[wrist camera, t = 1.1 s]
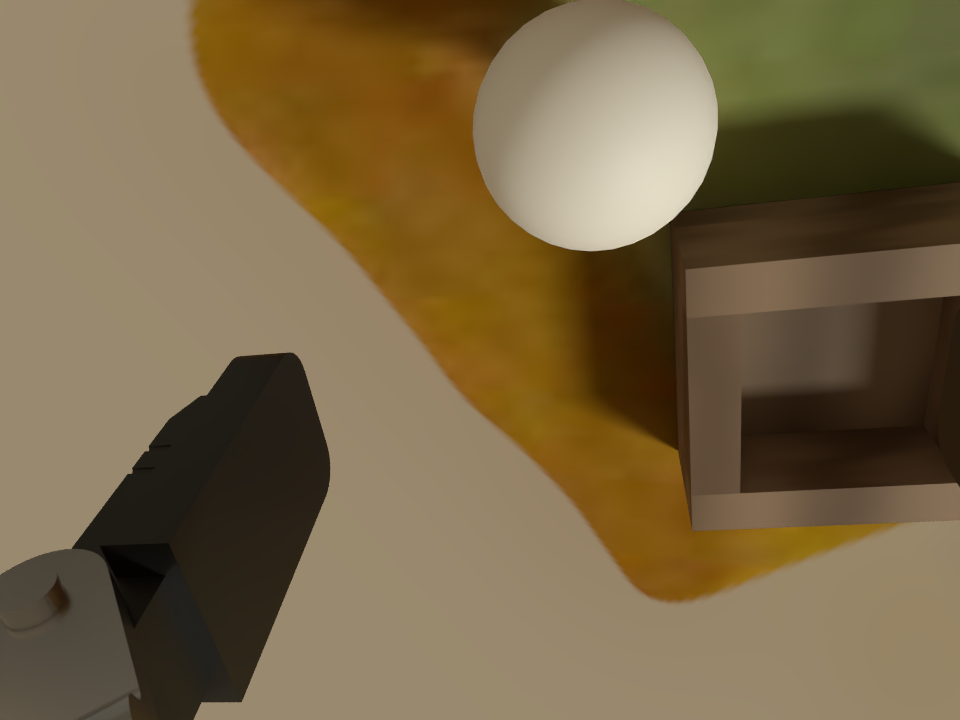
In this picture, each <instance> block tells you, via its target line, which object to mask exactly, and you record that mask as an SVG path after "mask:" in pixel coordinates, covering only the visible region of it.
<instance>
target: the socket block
mask: <svg viewBox="0 0 960 720" xmlns="http://www.w3.org/2000/svg"><path fill="white" fill-rule="evenodd" d="M670 231H671V259H672V287H673V315H674V344H675V372H676V400H677V429H678V452H679V458H680V464H681V469H682V475H683V481H684V487H685V492H686V498H687V504H688V509H689V515H690V521H691V526H692V531H704V530H729V529H753V528H778V527H802V526H827V525H852V524H876V523H901V522H925V521H949V520H960V487H959V485H958V484H957V482H956V481H955V479H954V477H953V476H952V474H951V473H950V471H949V469H948V467H947V466H946V463H945V461H944V458H943V455H942V452H941V448H940V443H939V437H938V413H939V407H940V401H941V395H942V389H943V384H944V378H945V372H946V366H947V360H948V354H949V348H950V342H951V336H952V331H953V325H954V320H955V317H956V314H957V312H958V310H959V308H960V182H957V183H947V184H938V185H928V186H919V187H909V188H900V189H890V190H881V191H871V192H862V193H852V194H843V195H834V196H824V197H815V198H805V199H796V200H786V201H777V202H767V203H758V204H748V205H739V206H729V207H720V208H710V209H701V210H691V211H682V212H679V213H678V214H677V216H676V217H675V218H674V219H672V220H671V221H670Z"/></svg>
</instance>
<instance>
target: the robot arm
mask: <svg viewBox="0 0 960 720" xmlns="http://www.w3.org/2000/svg"><path fill="white" fill-rule="evenodd" d="M938 437H939V443H940V448H941V452H942V455H943V458H944V461H945V463H946V466H947V467H948V469H949V471H950V473H951V474H952V476H953V477H954V479H955V481H956V482H957V484H958V485H959V487H960V308H959V310H958V312H957V314H956V317H955V320H954V325H953V331H952V336H951V342H950V348H949V354H948V360H947V366H946V372H945V378H944V384H943V389H942V395H941V401H940V407H939V413H938ZM132 469H133V473H132V474H127V476H126V477H125V479H124V480H123V481H122V482H121V484H120V485H119V486H118V488H117V489H116V490H115V492H114V493H113V494H112V496H111V497H110V498H109V500H108V501H107V502H106V504H105V505H104V506H103V508H102V509H101V510H100V512H99V513H98V514H97V516H96V517H95V518H94V519H93V521H92V522H91V523H90V525H89V526H88V527H87V529H86V530H85V531H84V533H83V534H82V536H81V537H80V538H79V539H78V541H77V542H76V543H75V545H74V546H73V547H72V549H65V550H58V551H53V552H50V553H46V554H42V555H39V556H37V557H34V558H31V559H29V560H27V561H24V562H22V563H20V564H18V565H16V566H14V567H12V568H11V569H9V570H7V571H6V572H4V573H2V574H1V575H0V720H193V719H194V717H195V715H196V713H197V711H198V709H199V706H200V704H201V702H242V700H243V698H244V695H245V693H246V690H247V688H248V685H249V683H250V680H251V678H252V675H253V673H254V670H255V668H256V666H257V663H258V661H259V658H260V656H261V653H262V651H263V649H264V646H265V644H266V641H267V639H268V636H269V634H270V631H271V629H272V626H273V624H274V622H275V619H276V617H277V614H278V612H279V610H280V607H281V605H282V602H283V599H284V597H285V594H286V592H287V590H288V588H289V585H290V583H291V580H292V578H293V575H294V573H295V570H296V568H297V565H298V563H299V561H300V558H301V556H302V553H303V551H304V548H305V546H306V544H307V541H308V539H309V536H310V534H311V531H312V528H313V526H314V524H315V521H316V519H317V517H318V514H319V512H320V509H321V507H322V504H323V502H324V499H325V497H326V494H327V491H328V487H329V481H330V458H329V452H328V447H327V444H326V440H325V437H324V433H323V430H322V427H321V423H320V420H319V417H318V413H317V410H316V407H315V403H314V400H313V397H312V394H311V390H310V387H309V384H308V380H307V377H306V374H305V371H304V368H303V365H302V363H301V361H300V359H299V358H298V357H297V356H296V355H295V354H294V353H277V354H264V355H251V356H240V357H236V358H234V359H233V360H232V361H231V362H230V364H229V365H228V367H227V368H226V370H225V371H224V372H223V374H222V375H221V376H220V378H219V379H218V381H217V382H216V384H215V385H214V386H213V388H212V389H211V390H210V392H209V393H208V395H206V396H200V397H198V398H197V399H196V400H194V401H193V402H192V403H191V404H189V405H188V406H186V407H185V408H184V409H182V410H181V411H180V412H179V413H177V414H176V415H175V416H173V417H172V418H170V419H169V420H168V422H167V423H166V424H165V425H164V427H163V428H162V430H161V431H160V432H159V434H158V435H157V436H156V437H155V439H154V440H153V441H152V443H151V444H150V445H149V451H146V452H144V453H143V455H142V456H141V457H140V459H139V460H138V461H137V463H136V464H135V465H134V467H133V468H132Z"/></svg>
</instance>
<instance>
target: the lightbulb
mask: <svg viewBox="0 0 960 720" xmlns="http://www.w3.org/2000/svg"><path fill="white" fill-rule="evenodd" d="M717 131H718V105H717V100H716V95H715V90H714V86H713V81H712V79H711V77H710V74H709V72H708V70H707V68H706V65H705V63H704V61H703V59H702V57H701V56H700V54H699V53H698V52H697V50H696V49H695V48H694V46H693V45H692V43H691V42H690V41H689V39H688V38H687V37H686V35H685V34H684V33H683V32H681V31H680V30H679V29H678V28H677V27H676V26H674V25H673V24H672V23H671V22H670V21H669V20H668V19H666V18H665V17H663V16H661V15H659V14H657V13H655V12H654V11H652V10H650V9H648V8H646V7H644V6H641V5H637V4H634V3H630V2H627V1H623V0H580V1H573V2H569V3H566V4H563V5H560V6H558V7H555V8H552V9H550V10H547V11H545V12H543V13H542V14H540V15H539V16H537V17H535V18H534V19H532V20H531V21H529V22H527V23H526V24H524V25H523V26H522V27H521V28H520V29H519V30H518V31H517V32H516V33H515V34H514V35H513V36H512V37H510V38H509V39H508V40H507V41H506V42H505V44H504V45H503V47H502V48H501V49H500V51H499V52H498V54H497V55H496V56H495V58H494V59H493V61H492V62H491V64H490V66H489V69H488V71H487V73H486V75H485V77H484V80H483V82H482V84H481V86H480V88H479V92H478V97H477V101H476V105H475V109H474V119H473V140H474V147H475V153H476V159H477V162H478V165H479V168H480V171H481V174H482V176H483V179H484V182H485V185H486V187H487V188H488V190H489V192H490V193H491V195H492V196H493V198H494V200H495V201H496V203H497V205H498V206H499V207H500V208H501V209H502V210H503V211H504V212H505V213H506V214H507V216H508V217H509V218H510V219H511V220H512V221H513V222H515V223H516V224H517V225H519V226H520V227H521V228H523V229H524V230H526V231H527V232H528V233H530V234H531V235H533V236H535V237H537V238H539V239H541V240H543V241H545V242H547V243H549V244H552V245H556V246H559V247H563V248H567V249H570V250H582V251H600V250H610V249H616V248H619V247H623V246H626V245H630V244H633V243H635V242H637V241H639V240H642V239H644V238H646V237H648V236H650V235H652V234H654V233H655V232H656V231H658V230H659V229H660V228H662V227H663V226H665V225H666V224H667V223H669V222H670V221H671V220H672V219H674V218H675V217H676V216H677V214H678V213H679V212H680V211H681V210H682V209H683V208H684V207H685V206H686V205H687V204H688V203H689V202H690V201H691V199H692V197H693V196H694V194H695V193H696V191H697V190H698V188H699V187H700V185H701V184H702V182H703V180H704V178H705V175H706V173H707V170H708V168H709V165H710V163H711V160H712V156H713V151H714V146H715V141H716V136H717Z"/></svg>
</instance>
